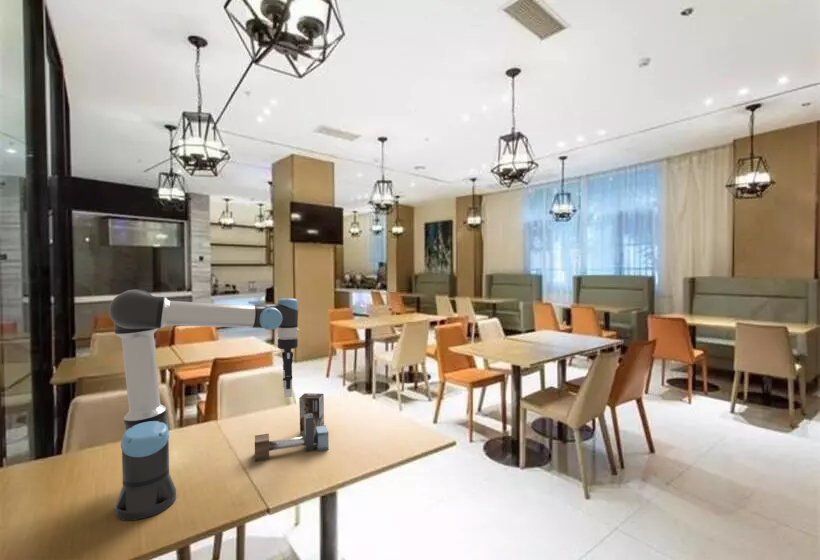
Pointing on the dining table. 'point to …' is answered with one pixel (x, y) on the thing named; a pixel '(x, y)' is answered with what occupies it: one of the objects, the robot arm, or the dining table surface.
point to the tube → (298, 441)
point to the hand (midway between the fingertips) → (287, 391)
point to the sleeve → (261, 447)
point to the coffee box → (311, 409)
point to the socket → (322, 438)
